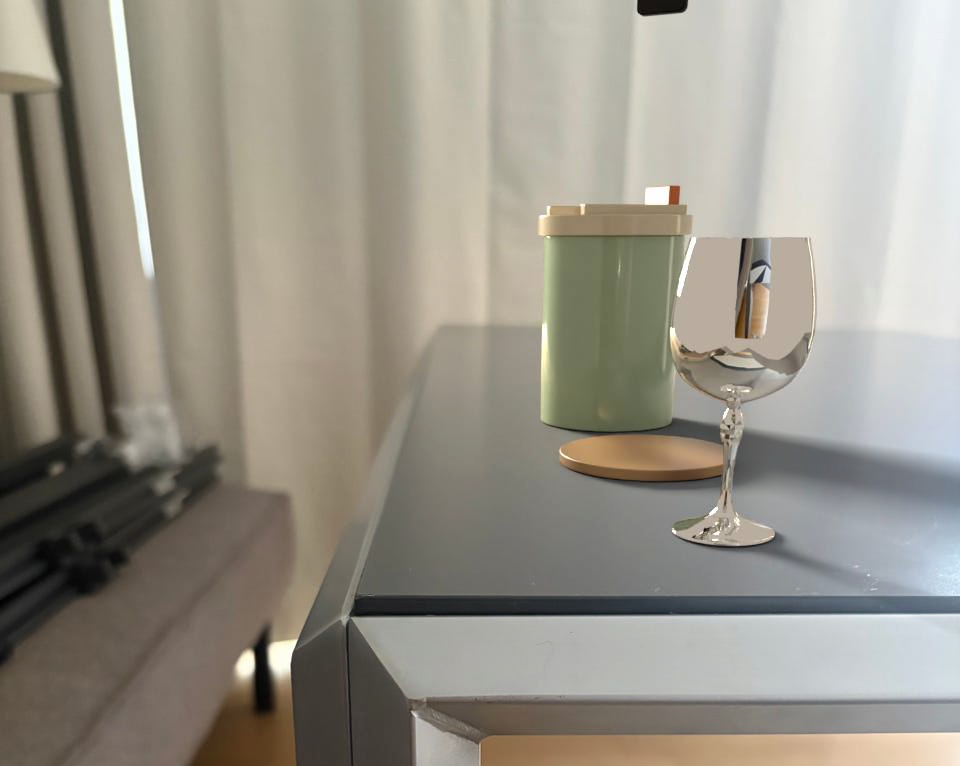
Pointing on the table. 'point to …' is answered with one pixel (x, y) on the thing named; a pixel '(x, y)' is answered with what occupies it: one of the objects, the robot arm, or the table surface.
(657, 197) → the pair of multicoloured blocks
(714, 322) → the wineglass
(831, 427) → the table surface
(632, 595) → the table surface
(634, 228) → the green storage canister
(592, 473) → the coaster
